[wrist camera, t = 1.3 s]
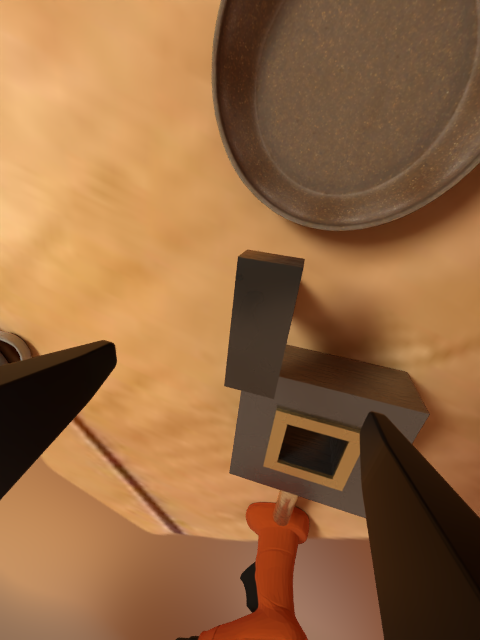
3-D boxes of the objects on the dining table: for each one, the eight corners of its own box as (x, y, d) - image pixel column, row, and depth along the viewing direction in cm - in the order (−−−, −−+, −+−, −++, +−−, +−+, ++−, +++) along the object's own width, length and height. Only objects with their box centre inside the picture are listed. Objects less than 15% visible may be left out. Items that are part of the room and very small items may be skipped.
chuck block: (406, 372, 20) (431, 417, 16) (336, 513, 29) (339, 567, 25) (257, 338, 22) (243, 370, 18) (234, 479, 31) (221, 523, 27)
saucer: (326, -220, 11) (329, -341, 8) (619, -24, 11) (705, -86, 8) (189, 152, 18) (170, 145, 15) (368, 268, 18) (377, 278, 16)
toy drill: (165, 507, 35) (92, 696, 21) (302, 495, 31) (322, 726, 17) (179, 530, 37) (120, 719, 23) (312, 521, 32) (337, 752, 18)
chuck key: (307, 239, 18) (303, 267, 11) (287, 329, 21) (273, 399, 14) (268, 233, 18) (237, 256, 11) (254, 322, 22) (224, 386, 14)
